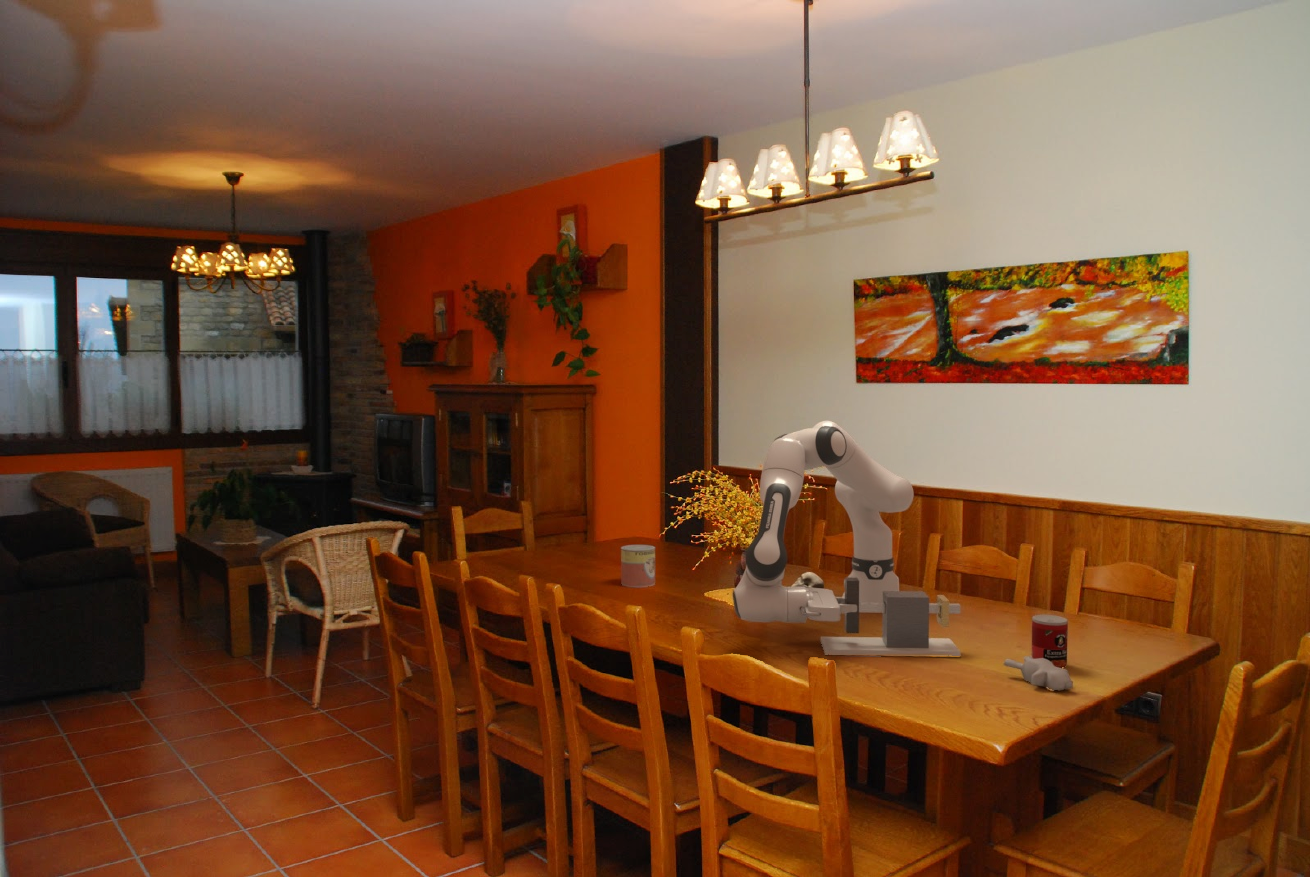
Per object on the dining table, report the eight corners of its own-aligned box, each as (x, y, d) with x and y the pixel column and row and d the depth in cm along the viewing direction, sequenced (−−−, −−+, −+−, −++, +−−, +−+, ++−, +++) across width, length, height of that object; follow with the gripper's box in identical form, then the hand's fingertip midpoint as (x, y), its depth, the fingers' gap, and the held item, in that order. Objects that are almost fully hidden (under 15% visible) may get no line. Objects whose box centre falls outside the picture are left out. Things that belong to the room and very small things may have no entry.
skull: (783, 597, 298) (786, 568, 304) (788, 614, 306) (790, 585, 312) (823, 598, 295) (825, 568, 301) (827, 615, 302) (829, 586, 309)
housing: (882, 646, 247) (882, 590, 246) (923, 646, 246) (923, 591, 245) (886, 653, 240) (887, 597, 239) (928, 654, 239) (929, 597, 238)
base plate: (820, 642, 250) (820, 636, 250) (949, 644, 248) (949, 638, 248) (825, 655, 238) (825, 649, 238) (960, 657, 236) (960, 651, 236)
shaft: (844, 629, 246) (844, 577, 245) (957, 630, 244) (958, 578, 243) (846, 633, 242) (846, 580, 241) (961, 634, 240) (961, 581, 239)
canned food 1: (643, 588, 316) (643, 551, 316) (614, 585, 322) (614, 548, 322) (661, 582, 326) (661, 546, 325) (633, 579, 332) (632, 543, 331)
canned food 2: (1045, 671, 225) (1046, 623, 224) (1023, 661, 232) (1024, 615, 232) (1074, 668, 227) (1075, 621, 226) (1051, 659, 234) (1052, 613, 234)
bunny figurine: (1049, 677, 207) (1000, 651, 221) (1046, 700, 208) (998, 673, 222) (1084, 672, 210) (1033, 647, 224) (1081, 695, 211) (1031, 668, 225)
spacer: (936, 620, 245) (936, 595, 245) (943, 620, 245) (943, 595, 245) (942, 626, 239) (942, 600, 238) (948, 627, 239) (949, 600, 238)
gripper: (801, 601, 234) (861, 602, 233) (796, 583, 254) (850, 584, 253) (801, 627, 234) (860, 628, 233) (796, 607, 254) (850, 608, 253)
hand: (855, 605), depth 243 cm, fingers closed on shaft, 4 cm apart
